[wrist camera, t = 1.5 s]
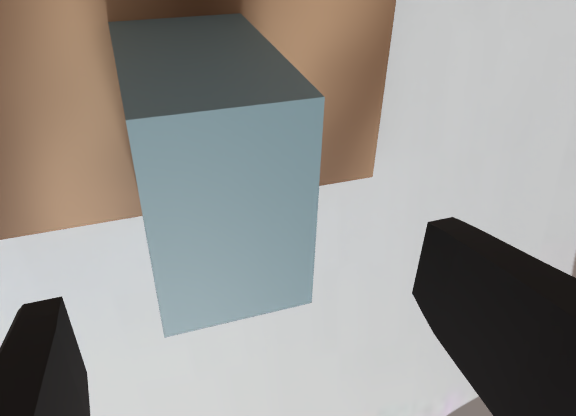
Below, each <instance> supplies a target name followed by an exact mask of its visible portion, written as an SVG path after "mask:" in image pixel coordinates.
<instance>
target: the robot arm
mask: <svg viewBox="0 0 576 416" xmlns="http://www.w3.org/2000/svg"><path fill="white" fill-rule="evenodd" d="M412 294H413V295H414V297H415V299H416V301H417V303H418V305H419V307H420V309H421V311H422V313H423V315H424V317H425V318H426V320H427V322H428V324H429V326H430V327H431V329H432V331H433V333H434V334H435V336H436V337H437V339H438V340H439V341H440V343H441V344H442V346H443V347H444V348H445V350H446V351H447V353H448V354H449V355H450V357H451V358H452V360H453V361H454V362H455V364H456V365H457V367H458V368H459V369H460V371H461V372H462V373H463V375H464V376H465V378H466V379H467V380H468V382H469V383H470V384H471V386H472V387H473V388H474V390H475V391H476V393H477V394H478V395H479V397H480V398H481V399H482V401H483V402H484V403H485V405H486V406H487V408H488V409H489V410H490V412H491V413H492V414H493V416H576V278H575V277H573V276H570V275H568V274H566V273H564V272H562V271H560V270H558V269H556V268H554V267H552V266H550V265H548V264H546V263H544V262H542V261H540V260H538V259H536V258H534V257H532V256H530V255H528V254H527V253H525V252H523V251H521V250H519V249H517V248H515V247H513V246H511V245H509V244H507V243H505V242H503V241H501V240H499V239H497V238H495V237H493V236H492V235H490V234H488V233H486V232H484V231H482V230H480V229H478V228H476V227H473V226H471V225H469V224H467V223H465V222H463V221H461V220H458V219H456V218H454V217H451V218H446V219H441V220H436V221H431V222H428V224H427V228H426V233H425V237H424V242H423V246H422V251H421V255H420V260H419V264H418V269H417V273H416V278H415V283H414V287H413V292H412ZM0 416H90V406H89V392H88V380H87V371H86V368H85V365H84V362H83V359H82V356H81V353H80V350H79V347H78V344H77V341H76V338H75V335H74V332H73V329H72V326H71V323H70V320H69V317H68V314H67V310H66V307H65V304H64V301H63V298H62V297H57V298H52V299H48V300H43V301H38V302H33V303H28V304H23V305H22V307H21V308H20V309H19V310H18V312H17V314H16V316H15V318H14V320H13V322H12V325H11V327H10V329H9V331H8V333H7V335H6V337H5V339H4V341H3V343H2V345H1V347H0Z"/></svg>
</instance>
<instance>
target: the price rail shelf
mask: <svg viewBox="0 0 576 416" xmlns="http://www.w3.org/2000/svg"><path fill="white" fill-rule="evenodd" d="M395 5H396V0H0V240H2V239H8V238H14V237H20V236H26V235H32V234H37V233H43V232H49V231H55V230H61V229H67V228H73V227H79V226H85V225H91V224H97V223H103V222H108V221H114V220H120V219H126V218H132V217H138V216H143V215H142V209H141V203H140V198H139V192H138V187H137V181H136V175H135V170H134V164H133V159H132V153H131V148H130V142H129V136H128V131H127V125H126V120H125V114H124V108H123V103H122V97H121V92H120V86H119V80H118V75H117V69H116V64H115V58H114V52H113V47H112V41H111V36H110V30H109V24H108V22H115V21H130V20H146V19H161V18H176V17H192V16H207V15H222V14H238V13H241V14H242V15H243V16H244V17H245V18H246V19H247V20H248V21H249V22H250V23H251V24H252V25H253V26H254V27H255V28H256V29H257V30H258V31H259V32H260V33H261V34H262V35H263V36H264V37H265V38H266V39H267V40H268V41H269V42H270V43H271V44H272V45H273V46H274V47H275V48H276V49H277V50H278V51H279V52H280V53H281V54H282V55H283V56H284V57H285V58H286V59H287V60H288V61H289V62H290V63H291V64H292V65H293V66H294V67H295V68H296V69H297V70H298V71H299V72H300V73H301V74H302V75H303V76H304V77H305V78H306V79H307V80H308V81H309V82H310V83H311V84H312V85H313V86H314V87H315V88H316V89H317V90H318V91H319V92H320V93H321V94H322V95H323V96H324V97H325V102H324V118H323V133H322V149H321V164H320V180H319V186H321V185H327V184H333V183H339V182H345V181H351V180H357V179H363V178H369V177H372V176H373V169H374V161H375V154H376V146H377V139H378V132H379V124H380V117H381V109H382V102H383V94H384V87H385V79H386V72H387V64H388V57H389V50H390V42H391V35H392V27H393V20H394V12H395Z"/></svg>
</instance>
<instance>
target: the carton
mask: <svg viewBox="0 0 576 416" xmlns="http://www.w3.org/2000/svg"><path fill="white" fill-rule="evenodd" d="M108 24H109V30H110V36H111V41H112V47H113V52H114V58H115V64H116V69H117V75H118V80H119V86H120V92H121V97H122V103H123V108H124V114H125V120H126V125H127V131H128V136H129V142H130V148H131V153H132V159H133V164H134V170H135V175H136V181H137V187H138V192H139V198H140V203H141V209H142V215H143V220H144V226H145V231H146V237H147V243H148V248H149V254H150V259H151V265H152V271H153V276H154V282H155V287H156V293H157V298H158V304H159V310H160V315H161V321H162V326H163V332H164V338H165V337H169V336H173V335H178V334H182V333H186V332H190V331H194V330H199V329H203V328H207V327H211V326H216V325H220V324H224V323H228V322H232V321H237V320H241V319H245V318H249V317H254V316H258V315H262V314H266V313H271V312H275V311H279V310H283V309H287V308H292V307H296V306H300V305H304V304H309V303H312V288H313V273H314V257H315V242H316V226H317V211H318V195H319V180H320V164H321V149H322V133H323V118H324V102H325V97H324V96H323V95H322V94H321V93H320V92H319V91H318V90H317V89H316V88H315V87H314V86H313V85H312V84H311V83H310V82H309V81H308V80H307V79H306V78H305V77H304V76H303V75H302V74H301V73H300V72H299V71H298V70H297V69H296V68H295V67H294V66H293V65H292V64H291V63H290V62H289V61H288V60H287V59H286V58H285V57H284V56H283V55H282V54H281V53H280V52H279V51H278V50H277V49H276V48H275V47H274V46H273V45H272V44H271V43H270V42H269V41H268V40H267V39H266V38H265V37H264V36H263V35H262V34H261V33H260V32H259V31H258V30H257V29H256V28H255V27H254V26H253V25H252V24H251V23H250V22H249V21H248V20H247V19H246V18H245V17H244V16H243V15H242V14H241V13H238V14H222V15H207V16H192V17H176V18H161V19H146V20H130V21H115V22H108Z"/></svg>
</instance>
